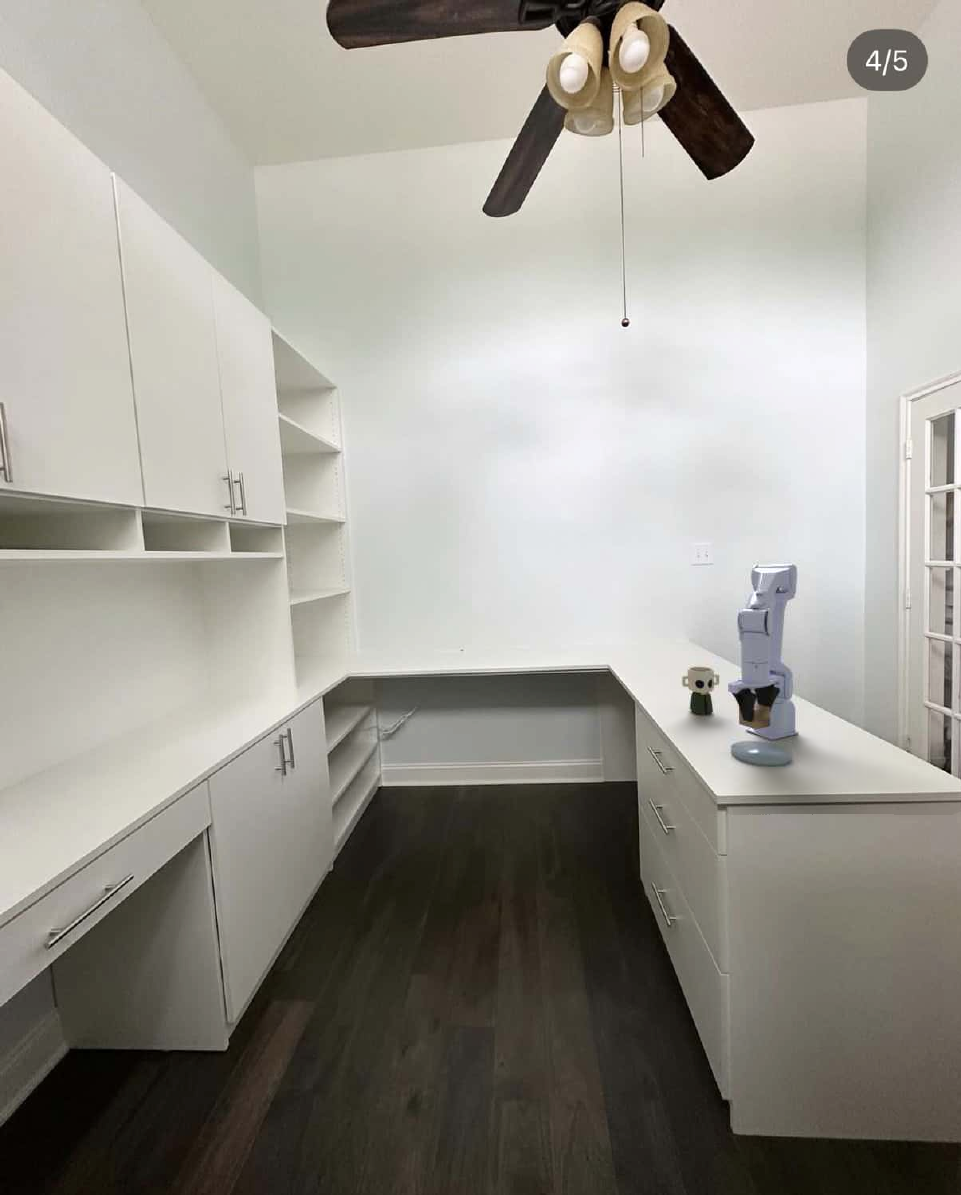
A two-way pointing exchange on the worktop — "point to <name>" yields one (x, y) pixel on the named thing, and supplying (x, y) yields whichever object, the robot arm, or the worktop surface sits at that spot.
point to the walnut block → (757, 717)
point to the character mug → (700, 688)
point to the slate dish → (761, 753)
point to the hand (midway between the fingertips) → (755, 718)
